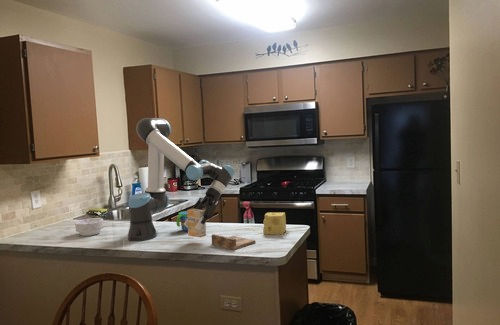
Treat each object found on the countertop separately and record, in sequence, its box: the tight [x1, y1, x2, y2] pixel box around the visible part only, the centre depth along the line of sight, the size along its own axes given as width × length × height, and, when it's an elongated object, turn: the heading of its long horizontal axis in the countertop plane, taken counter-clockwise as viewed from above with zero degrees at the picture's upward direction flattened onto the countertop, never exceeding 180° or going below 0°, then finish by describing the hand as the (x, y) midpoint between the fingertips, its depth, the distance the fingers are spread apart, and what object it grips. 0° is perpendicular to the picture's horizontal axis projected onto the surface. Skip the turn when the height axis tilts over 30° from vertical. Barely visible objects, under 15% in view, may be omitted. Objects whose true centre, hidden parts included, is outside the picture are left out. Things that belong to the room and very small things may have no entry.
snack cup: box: [175, 210, 188, 232], centre depth 228 cm, size 16×10×10 cm
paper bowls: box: [74, 217, 105, 237], centre depth 232 cm, size 15×15×8 cm
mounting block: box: [211, 233, 256, 251], centre depth 193 cm, size 16×14×5 cm
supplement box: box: [186, 208, 207, 238], centre depth 199 cm, size 8×5×13 cm, turn 56°
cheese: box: [262, 212, 287, 236], centre depth 211 cm, size 10×11×10 cm
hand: (191, 227), depth 197 cm, fingers closed on supplement box, 9 cm apart
